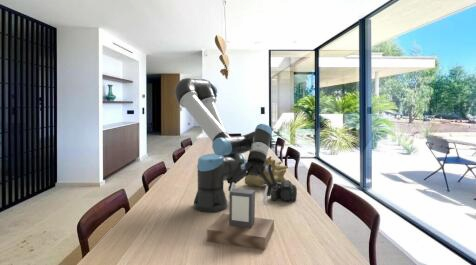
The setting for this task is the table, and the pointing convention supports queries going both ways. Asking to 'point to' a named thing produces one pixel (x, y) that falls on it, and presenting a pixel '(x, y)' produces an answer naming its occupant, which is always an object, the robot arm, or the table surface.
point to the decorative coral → (276, 170)
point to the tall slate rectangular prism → (242, 208)
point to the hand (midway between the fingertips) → (246, 201)
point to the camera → (284, 191)
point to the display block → (241, 233)
